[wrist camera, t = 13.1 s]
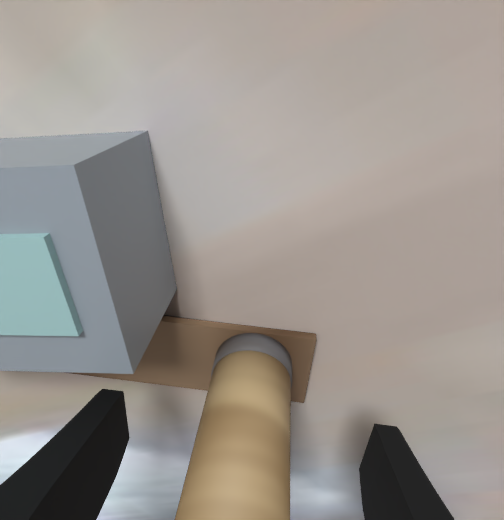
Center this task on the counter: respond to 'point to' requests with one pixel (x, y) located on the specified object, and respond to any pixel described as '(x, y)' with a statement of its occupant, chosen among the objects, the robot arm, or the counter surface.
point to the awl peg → (243, 436)
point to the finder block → (80, 253)
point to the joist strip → (209, 354)
